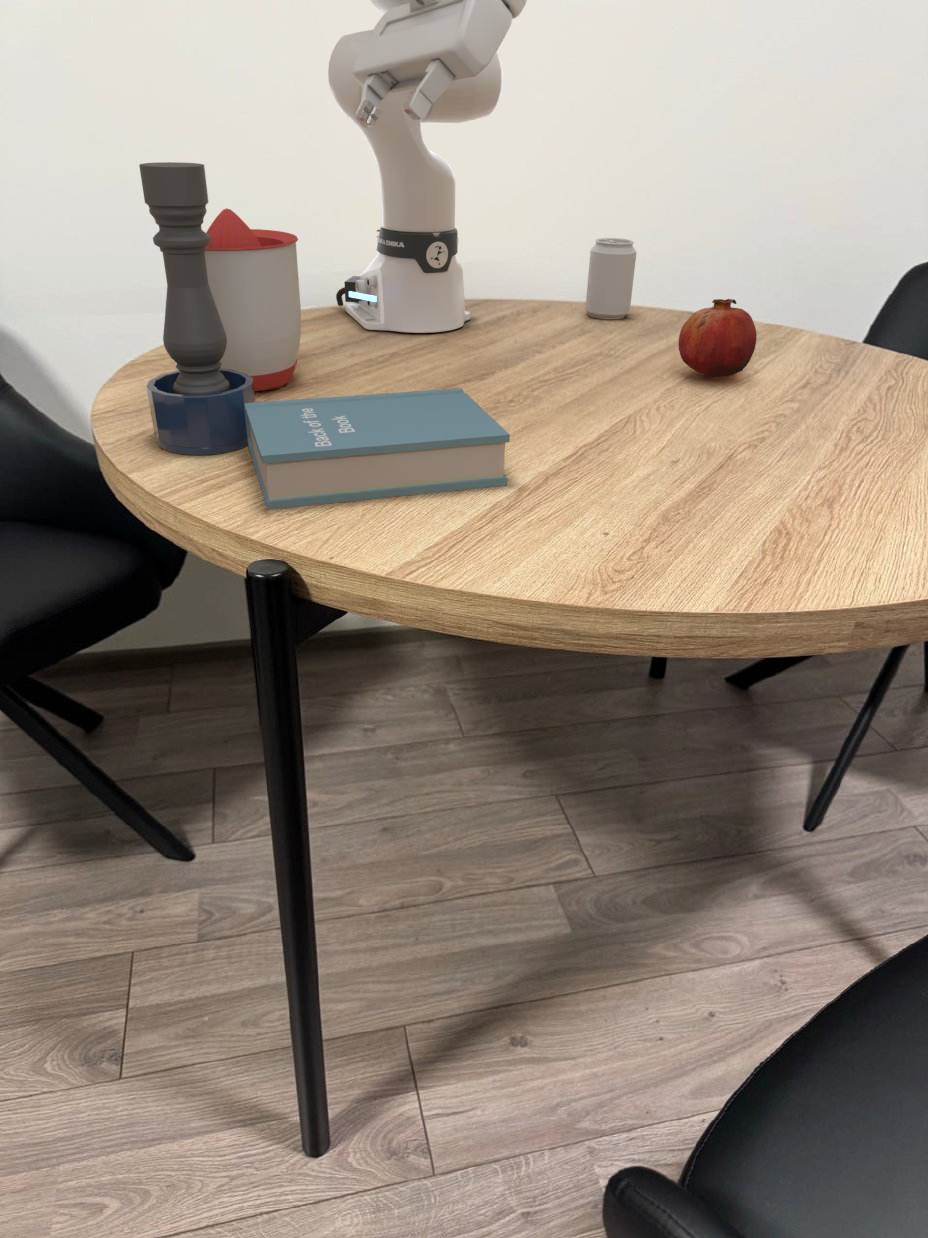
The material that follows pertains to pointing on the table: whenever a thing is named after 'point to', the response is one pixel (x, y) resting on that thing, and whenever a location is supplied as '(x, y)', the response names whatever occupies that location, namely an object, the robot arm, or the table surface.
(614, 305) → the can
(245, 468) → the table surface
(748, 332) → the fruit
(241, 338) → the citrus juicer
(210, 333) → the candle holder
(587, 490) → the table surface
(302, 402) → the book
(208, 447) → the socket cup
